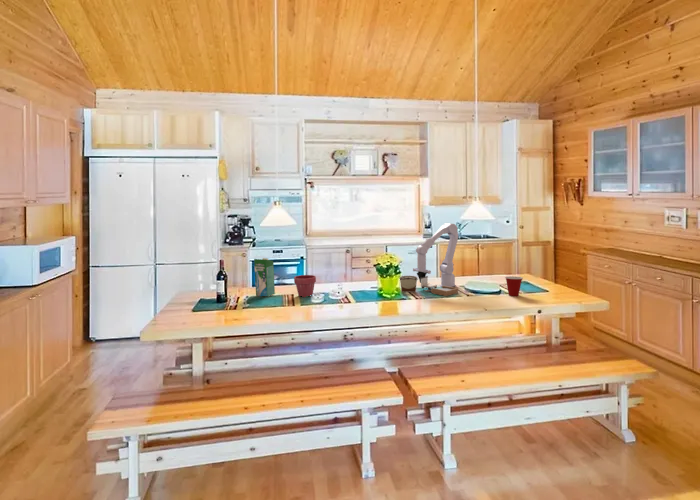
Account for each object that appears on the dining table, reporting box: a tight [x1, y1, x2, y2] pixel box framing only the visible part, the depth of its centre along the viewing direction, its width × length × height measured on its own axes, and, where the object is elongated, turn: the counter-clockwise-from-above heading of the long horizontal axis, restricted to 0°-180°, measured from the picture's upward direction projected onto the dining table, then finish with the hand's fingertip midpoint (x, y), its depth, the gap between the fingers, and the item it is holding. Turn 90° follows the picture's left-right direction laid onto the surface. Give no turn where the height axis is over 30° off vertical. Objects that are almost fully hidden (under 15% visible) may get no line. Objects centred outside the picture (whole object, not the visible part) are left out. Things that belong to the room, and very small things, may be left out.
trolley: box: [420, 275, 438, 290], centre depth 325 cm, size 7×9×8 cm
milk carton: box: [253, 257, 276, 297], centre depth 320 cm, size 9×9×25 cm
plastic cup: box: [504, 275, 524, 297], centre depth 304 cm, size 11×11×12 cm
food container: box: [399, 275, 419, 293], centre depth 323 cm, size 12×6×10 cm, turn 84°
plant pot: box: [293, 274, 317, 298], centre depth 316 cm, size 14×14×13 cm
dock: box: [423, 286, 459, 297], centre depth 318 cm, size 12×21×4 cm, turn 40°
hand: (421, 282), depth 330 cm, fingers closed
